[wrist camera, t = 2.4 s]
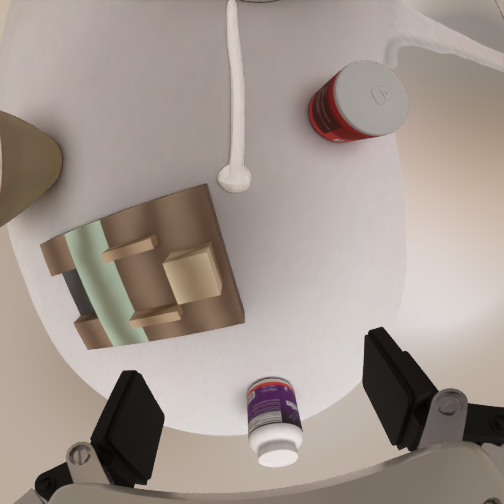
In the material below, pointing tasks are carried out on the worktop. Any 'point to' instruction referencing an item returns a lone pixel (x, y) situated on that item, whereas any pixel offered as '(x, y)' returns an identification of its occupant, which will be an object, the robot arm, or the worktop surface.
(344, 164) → the worktop surface
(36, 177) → the plant pot
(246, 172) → the white knobbed rod
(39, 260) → the worktop surface
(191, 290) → the block
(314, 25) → the worktop surface
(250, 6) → the worktop surface
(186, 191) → the wooden block puzzle
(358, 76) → the canned food
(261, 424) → the pill bottle
